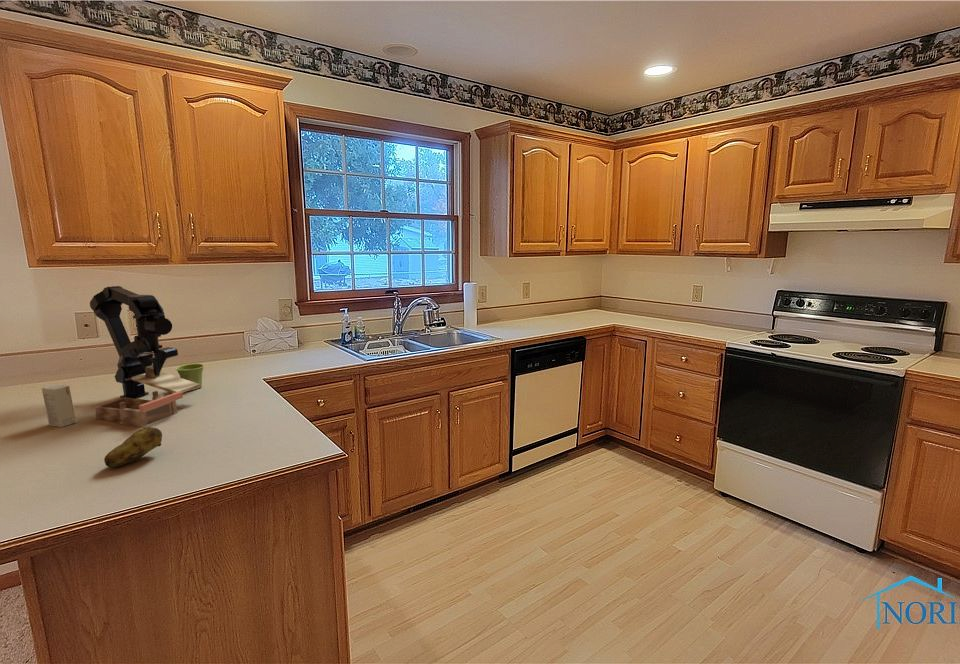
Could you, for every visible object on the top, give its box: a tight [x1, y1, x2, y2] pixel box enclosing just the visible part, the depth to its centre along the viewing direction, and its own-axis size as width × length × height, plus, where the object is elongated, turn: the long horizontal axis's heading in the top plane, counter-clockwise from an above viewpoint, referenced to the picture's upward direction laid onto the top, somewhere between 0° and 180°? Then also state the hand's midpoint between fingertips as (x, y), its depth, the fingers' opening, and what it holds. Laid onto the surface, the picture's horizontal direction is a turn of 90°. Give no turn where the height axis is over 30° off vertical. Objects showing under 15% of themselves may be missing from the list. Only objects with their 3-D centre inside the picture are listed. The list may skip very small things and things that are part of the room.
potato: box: [103, 426, 163, 468], centre depth 124 cm, size 8×13×8 cm, turn 131°
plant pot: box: [175, 363, 205, 391], centre depth 184 cm, size 9×9×9 cm
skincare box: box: [41, 384, 77, 428], centre depth 148 cm, size 6×4×12 cm
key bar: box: [139, 392, 183, 412], centre depth 151 cm, size 2×14×2 cm, turn 165°
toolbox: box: [94, 390, 178, 428], centre depth 155 cm, size 20×12×7 cm, turn 75°
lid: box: [132, 364, 200, 394], centre depth 166 cm, size 20×9×4 cm, turn 75°
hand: (153, 375), depth 167 cm, fingers closed on lid, 3 cm apart
